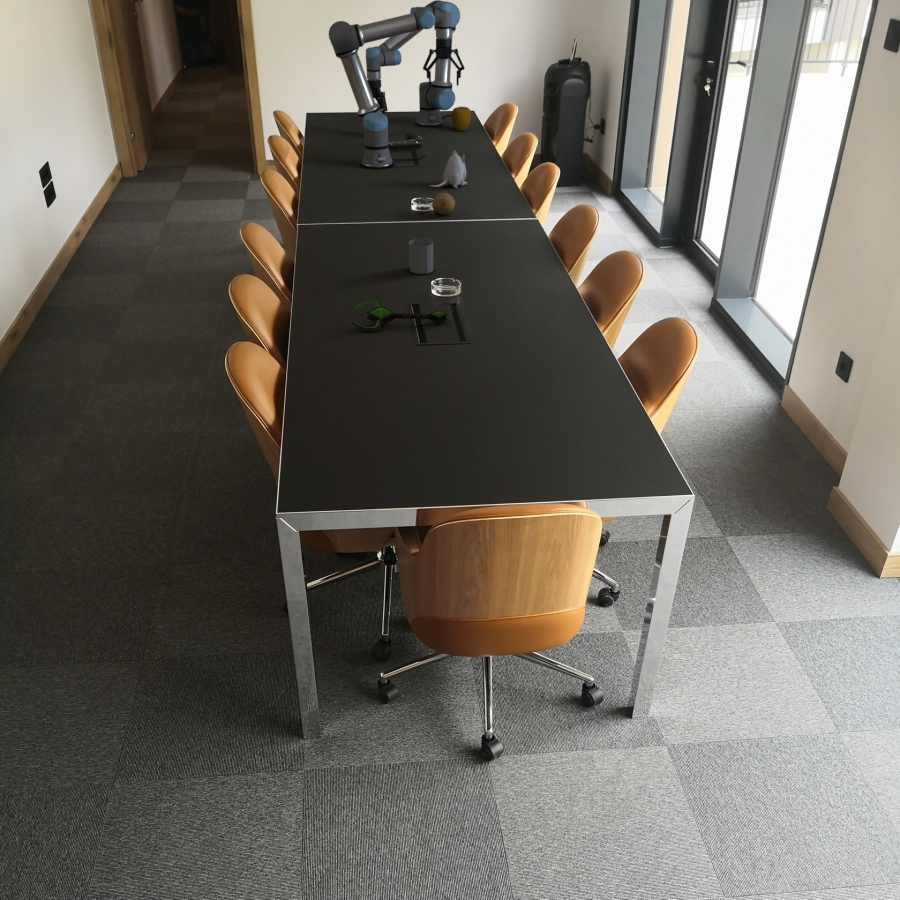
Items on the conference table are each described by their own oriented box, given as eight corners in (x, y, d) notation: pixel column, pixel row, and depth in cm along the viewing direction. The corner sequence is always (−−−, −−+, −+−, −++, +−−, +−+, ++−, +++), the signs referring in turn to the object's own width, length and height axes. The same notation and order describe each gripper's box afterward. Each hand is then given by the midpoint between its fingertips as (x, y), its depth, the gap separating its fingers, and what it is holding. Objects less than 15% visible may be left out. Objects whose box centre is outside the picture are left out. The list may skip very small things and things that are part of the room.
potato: (453, 208, 369) (453, 189, 365) (456, 218, 357) (456, 199, 353) (431, 208, 368) (430, 189, 364) (432, 218, 356) (432, 199, 352)
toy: (472, 184, 399) (472, 151, 391) (436, 195, 384) (436, 161, 376) (457, 180, 404) (458, 147, 396) (422, 191, 389) (421, 157, 381)
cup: (409, 265, 311) (408, 238, 306) (432, 265, 312) (431, 238, 307) (410, 274, 304) (409, 246, 299) (433, 273, 305) (433, 246, 299)
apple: (471, 132, 486) (471, 108, 479) (451, 132, 486) (451, 108, 479) (470, 128, 495) (471, 104, 488) (452, 128, 495) (452, 104, 488)
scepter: (447, 295, 270) (351, 293, 268) (448, 326, 263) (349, 324, 261) (446, 308, 275) (351, 306, 273) (447, 339, 268) (350, 337, 266)
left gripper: (468, 36, 418) (468, 83, 430) (417, 37, 416) (418, 84, 428) (470, 38, 412) (469, 86, 423) (418, 39, 410) (418, 87, 422)
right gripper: (354, 77, 466) (357, 121, 478) (383, 82, 453) (385, 127, 465) (364, 76, 470) (367, 119, 482) (393, 81, 458) (395, 125, 470)
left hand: (443, 85), depth 426 cm, fingers open, 13 cm apart
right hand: (375, 123), depth 474 cm, fingers closed on canister, 9 cm apart
